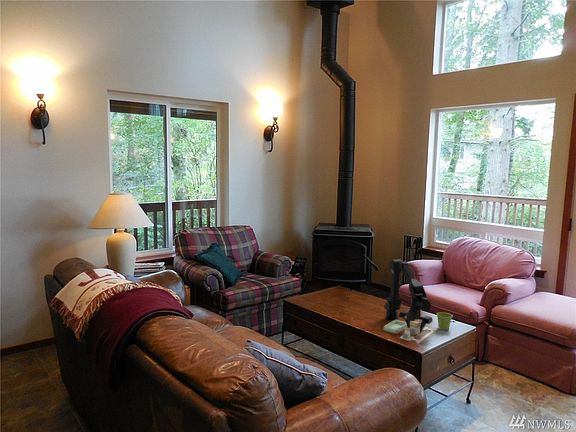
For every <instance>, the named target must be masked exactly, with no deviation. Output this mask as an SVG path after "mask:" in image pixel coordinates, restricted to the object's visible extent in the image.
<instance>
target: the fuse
mask: <svg viewBox="0 0 576 432" xmlns="http://www.w3.org/2000/svg"><path fill="white" fill-rule="evenodd" d="M410 329H414V330H415V335H414V336H418V335H419V334H421V333H420V331H419V330H420V321H417V320H415V321H410Z"/></svg>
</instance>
